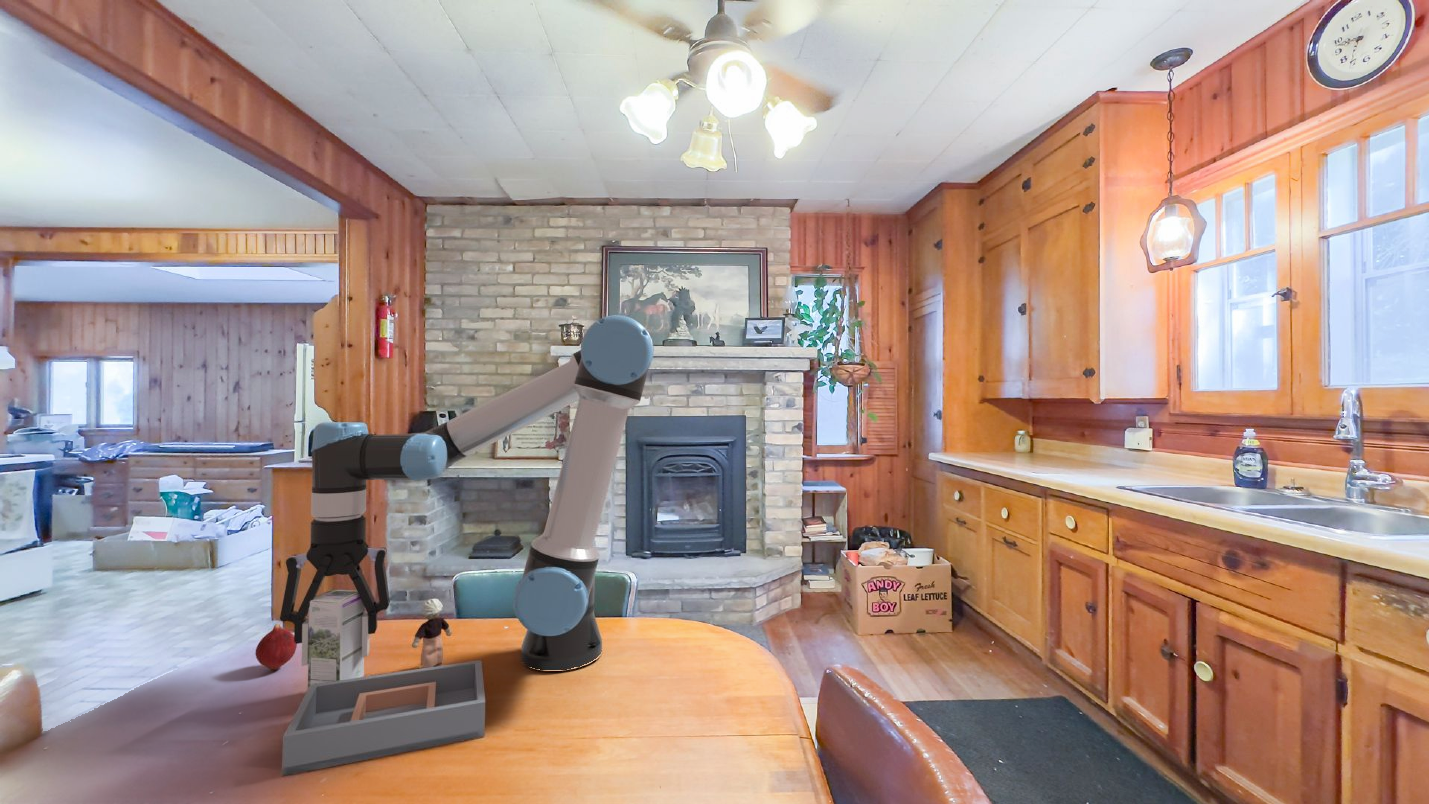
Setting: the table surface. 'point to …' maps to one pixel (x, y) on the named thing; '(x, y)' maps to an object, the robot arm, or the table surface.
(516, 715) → the table surface
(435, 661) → the grandmother figurine
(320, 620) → the syrup box
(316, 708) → the walled box
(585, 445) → the robot arm
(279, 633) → the onion
